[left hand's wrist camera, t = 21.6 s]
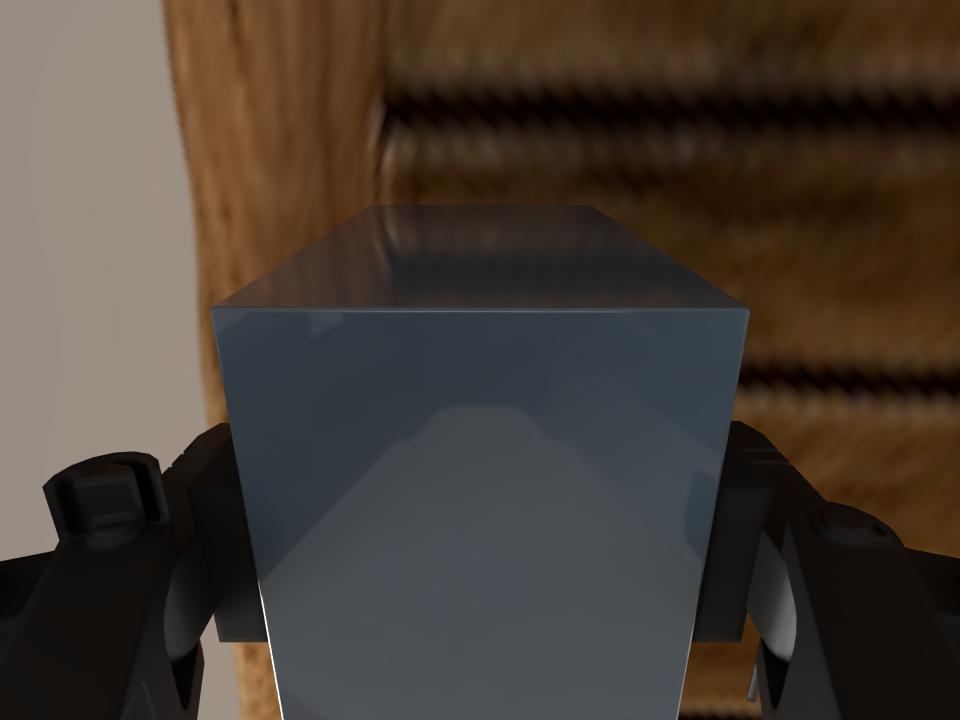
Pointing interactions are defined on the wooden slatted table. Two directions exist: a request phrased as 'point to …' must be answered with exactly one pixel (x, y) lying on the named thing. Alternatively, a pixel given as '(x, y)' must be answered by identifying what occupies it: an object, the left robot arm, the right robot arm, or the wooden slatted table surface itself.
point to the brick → (480, 462)
